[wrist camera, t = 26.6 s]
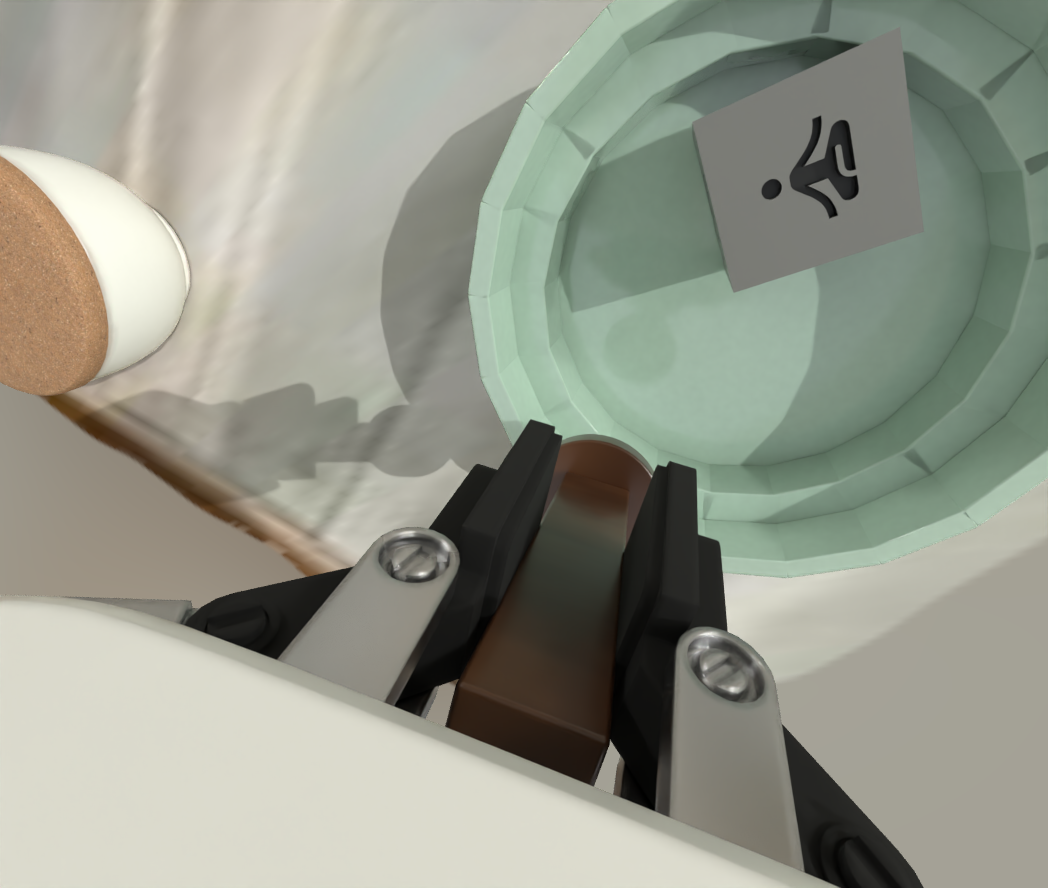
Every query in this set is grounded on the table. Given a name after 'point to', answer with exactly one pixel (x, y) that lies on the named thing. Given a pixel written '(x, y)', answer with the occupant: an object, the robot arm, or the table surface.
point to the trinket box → (80, 274)
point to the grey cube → (813, 166)
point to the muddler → (559, 619)
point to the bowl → (781, 281)
